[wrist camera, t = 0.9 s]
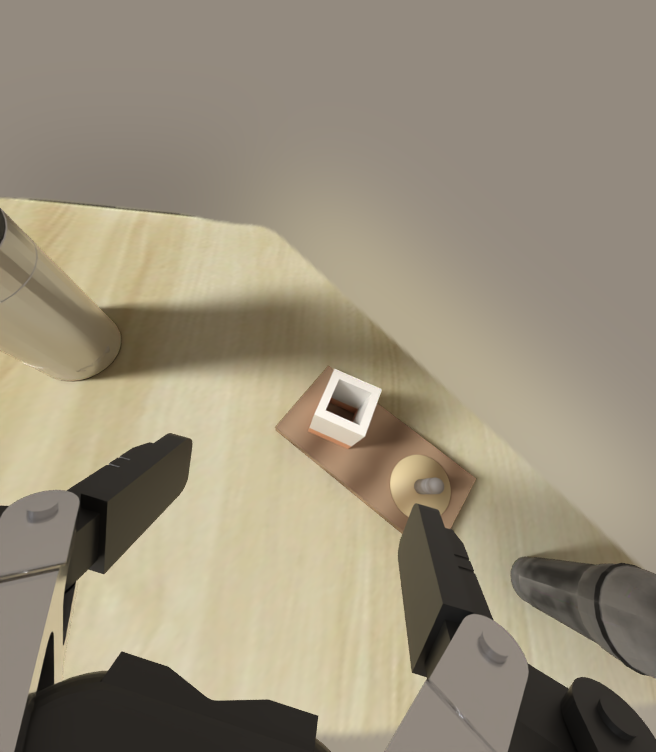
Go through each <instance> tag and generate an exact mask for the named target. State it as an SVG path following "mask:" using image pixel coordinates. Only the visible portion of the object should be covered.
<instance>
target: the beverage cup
mask: <svg viewBox="0 0 656 752" xmlns="http://www.w3.org/2000/svg"><path fill="white" fill-rule="evenodd" d="M511 581H512V585H513V588H514V589H515V591H516V593H517V594H518V595H519V596H520V597H521V598H522V599H523V600H524V601H526V602H528V603H530V604H531V605H532V606H533V607H535V608H537V609H539V610H540V611H542V612H544V613H546V614H547V615H549V616H551V617H552V618H554V619H556V620H558V621H559V622H561V623H563V624H565V625H566V626H568V627H570V628H571V629H573V630H575V631H577V632H578V633H580V634H582V635H584V636H585V637H587V638H589V639H590V640H592V641H594V642H596V643H597V644H599V645H600V646H601V647H602V648H603V649H604V650H606V651H607V652H608V653H610V654H611V655H613V656H614V657H615V658H617V659H619V660H620V661H622V662H623V663H624V664H625V665H626V666H627V667H629V668H631V669H632V670H634V671H636V672H638V673H639V674H642V675H647V676H651V677H654V678H656V574H654V573H652V572H649V571H647V570H643V569H641V568H639V567H637V566H635V565H630V564H625V563H619V564H599V565H594V564H586V563H577V562H569V561H561V560H553V559H545V558H537V557H534V558H531V557H522V558H519V559H518V560H516V561H515V563H514V564H513V566H512V570H511Z"/></svg>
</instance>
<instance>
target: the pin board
mask: <svg viewBox="0 0 656 752" xmlns="http://www.w3.org/2000/svg"><path fill="white" fill-rule="evenodd" d="M333 371H334V369H332V368H331V367H330V366H327V368H326V369H325V370H324V371H323V372H322V373H321V374H320V376H319V377H318V378H317V379H316V380H315V381H314V383H313V384H312V385H311V386H310V387H309V388H308V390H307V391H306V392H305V393H304V394H303V395H302V396H301V398H300V399H299V400H298V401H297V402H296V403H295V405H294V406H293V407H292V408H291V409H290V410H289V411H288V413H287V414H286V415H285V416H284V417H283V418H282V420H281V421H280V422H279V423H278V424H277V425H276V427H275V428H276V431H277V432H279V433H280V434H281V435H282V436H283V437H285V438H286V439H287V440H288V441H290V442H291V443H292V444H293V445H294V446H296V447H297V448H298V449H299V450H301V451H302V452H303V453H304V454H305V455H307V456H308V457H309V458H310V459H312V460H313V461H314V462H315V463H316V464H318V465H319V466H320V467H321V468H323V469H324V470H325V471H326V472H327V473H329V474H330V475H331V476H332V477H334V478H335V479H336V480H337V481H338V482H340V483H341V484H342V485H343V486H344V487H346V488H347V489H348V490H349V491H351V492H352V493H353V494H354V495H355V496H357V497H358V498H359V499H360V500H362V501H363V502H364V503H365V504H366V505H368V506H369V507H370V508H371V509H373V510H374V511H375V512H376V513H377V514H379V515H380V516H381V517H382V518H384V519H385V520H386V521H387V522H388V523H390V524H391V525H392V526H393V527H395V528H396V529H397V530H398V531H399V532H401V533H402V534H403V531H404V528H405V526H406V523H407V520H408V518H409V515H410V512H411V510H412V507H413V505H414V504H415V503H417V504H421V505H424V506H428V507H431V508H435V509H438V510H439V512H440V515H441V517H442V520H443V523H444V526H445V528H448V529H451V527H452V525H453V523H454V521H455V519H456V517H457V515H458V513H459V511H460V509H461V507H462V505H463V504H464V502H465V500H466V498H467V496H468V494H469V492H470V490H471V488H472V486H473V484H474V482H475V480H476V478H475V477H474V476H472V475H471V474H470V473H468V472H467V471H466V470H464V469H463V468H462V467H460V466H459V465H458V464H457V463H455V462H454V461H453V460H451V459H450V458H449V457H447V456H446V455H445V454H443V453H442V452H441V451H440V450H438V449H437V448H436V447H434V446H433V445H432V444H430V443H429V442H428V441H426V440H425V439H424V438H423V437H421V436H420V435H419V434H417V433H416V432H415V431H413V430H412V429H411V428H409V427H408V426H407V425H406V424H404V423H403V422H402V421H400V420H399V419H398V418H396V417H395V416H394V415H392V414H391V413H390V412H388V411H387V410H386V409H385V408H383V407H382V406H381V405H379V404H378V403H377V405H376V407H375V410H374V413H373V416H372V418H371V421H370V424H369V426H368V429H367V432H366V435H365V437H364V438H362V439H361V440H360V441H358V442H357V443H356V444H354V445H353V446H351V447H350V448H349V449H347V448H344V447H342V446H340V445H338V444H335V443H333V442H331V441H329V440H326V439H324V438H322V437H320V436H317V435H315V434H313V433H311V432H308V430H309V427H310V425H311V422H312V419H313V416H314V414H315V412H316V409H317V407H318V405H319V403H320V400H321V398H322V396H323V394H324V391H325V389H326V387H327V385H328V382H329V380H330V378H331V376H332V373H333ZM326 411H329V412H331V413H333V414H335V415H338V416H340V417H342V418H344V419H347V420H349V421H352V418H353V416H354V413H352V412H349V411H347V410H345V409H343V408H340V407H338V406H336V405H334V404H331V403H329V404H328V406H327V408H326Z"/></svg>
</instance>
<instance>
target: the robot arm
mask: <svg viewBox="0 0 656 752" xmlns="http://www.w3.org/2000/svg"><path fill="white" fill-rule="evenodd" d="M120 345H121V334H120V332H119V329H118V327H117V326H116V325H115V323H114V322H113V321H112V320H111V319H110V318H109V317H108V316H107V315H106V314H105V313H104V312H103V311H102V310H101V309H100V308H99V307H98V306H97V305H96V304H95V303H94V302H93V301H92V300H91V299H90V298H89V297H88V296H87V295H86V294H85V293H84V292H83V291H82V290H81V289H80V288H79V287H78V286H77V285H76V284H75V283H74V282H73V281H72V280H71V278H70V277H69V276H68V275H67V274H66V273H65V272H64V271H63V270H62V269H61V268H60V267H59V266H58V265H57V264H56V263H55V262H54V261H53V260H52V259H51V258H50V257H49V256H48V255H47V254H46V253H45V252H44V251H43V250H42V249H41V248H40V247H39V246H38V245H37V244H36V243H35V242H34V241H33V240H32V239H31V238H30V237H29V236H28V235H27V234H26V233H25V232H24V231H23V230H22V229H21V228H20V227H19V226H18V225H17V224H16V223H15V222H14V221H13V220H12V219H11V218H10V217H9V216H8V215H7V214H6V213H5V212H4V211H3V210H2V209H1V208H0V351H1V352H3V353H5V354H7V355H9V356H11V357H13V358H15V359H17V360H19V361H21V362H23V363H25V364H27V365H29V366H31V367H33V368H35V369H37V370H39V371H41V372H43V373H45V374H47V375H49V376H51V377H53V378H55V379H59V380H65V381H75V380H82V379H86V378H89V377H92V376H94V375H96V374H98V373H100V372H101V371H103V370H104V369H105V368H107V367H108V366H109V365H110V364H111V363H112V362H113V360H114V359H115V357H116V356H117V354H118V352H119V349H120ZM191 452H192V440H191V439H190V438H186V437H183V436H179V435H176V434H172V433H169V434H167V435H165V436H164V437H162V438H161V439H159V440H158V441H156V442H155V443H150V442H149V443H146V444H143V445H140V446H137V447H134V448H132V449H130V450H129V451H127V452H126V453H124V454H123V455H121V456H120V458H116V459H115V460H113V461H112V462H110V463H109V465H106V466H104V467H103V468H101V469H99V470H98V471H96V472H95V473H93V474H92V475H90V476H89V477H87V478H85V479H84V480H82V481H81V482H79V483H78V484H76V485H75V486H73V487H71V488H70V489H68V490H67V491H64V490H49V491H42V492H38V493H34V494H31V495H28V496H26V497H23V498H21V499H19V500H17V501H16V502H14V503H13V504H11V505H10V506H0V752H331V751H330V750H329V749H328V748H327V747H326V746H325V745H324V744H323V743H321V742H320V741H319V740H318V739H316V731H317V722H318V716H317V715H314V714H311V713H308V712H305V711H302V710H299V709H296V708H293V707H290V706H286V705H283V704H280V703H277V702H274V701H271V700H230V701H214V700H211V699H209V698H207V697H206V696H204V695H203V694H202V693H201V692H199V691H198V690H197V689H196V688H194V687H193V686H192V685H191V684H189V683H188V682H187V681H186V680H184V679H183V678H182V677H181V676H179V675H178V674H177V673H176V672H174V671H173V670H172V669H171V668H169V667H167V666H164V665H161V664H158V663H155V662H152V661H149V660H146V659H143V658H140V657H137V656H134V655H131V654H128V653H125V652H121V653H120V654H119V656H118V657H117V659H116V660H115V662H114V663H113V665H112V666H111V668H110V669H109V670H108V671H99V672H92V673H86V674H83V675H79V676H75V677H71V678H69V679H66V680H64V681H62V680H63V669H64V661H65V654H66V649H67V643H68V638H69V632H70V626H71V621H72V615H73V610H74V604H75V599H76V593H77V587H78V579H79V578H80V577H81V576H82V575H83V574H84V573H85V572H86V571H87V570H88V569H89V570H92V571H95V572H98V573H102V574H105V573H106V572H107V571H108V570H109V568H110V567H111V566H112V565H113V564H114V563H115V562H116V561H117V560H118V559H119V558H120V557H121V556H122V555H123V554H124V553H125V552H126V551H127V550H128V548H129V547H130V546H131V545H132V544H133V543H134V542H135V541H136V540H137V539H138V538H139V537H140V536H141V535H142V534H143V533H144V532H145V531H146V529H147V528H148V527H149V526H150V525H151V524H152V523H153V522H154V521H155V520H156V519H157V518H158V517H159V516H160V515H161V514H162V513H163V512H164V511H165V509H166V508H167V507H168V506H169V505H170V504H171V503H172V502H173V501H174V500H175V499H176V498H177V497H178V496H179V495H180V493H181V492H182V491H183V489H184V487H185V485H186V482H187V479H188V475H189V467H190V459H191ZM398 562H399V571H400V579H401V587H402V595H403V603H404V612H405V620H406V628H407V636H408V645H409V653H410V661H411V669H412V673H415V674H418V675H421V676H424V677H427V680H426V681H425V683H424V684H423V686H422V688H421V689H420V691H419V693H418V695H417V696H416V698H415V700H414V701H413V703H412V705H411V707H410V708H409V710H408V712H407V713H406V715H405V717H404V719H403V720H402V722H401V724H400V725H399V727H398V729H397V731H396V732H395V734H394V736H393V737H392V739H391V741H390V743H389V744H388V746H387V748H386V749H385V751H384V752H656V739H655V738H654V736H653V734H652V733H651V731H650V730H649V728H648V727H647V726H646V724H645V723H644V722H643V720H642V719H641V718H640V717H639V716H638V714H637V713H636V712H635V711H634V710H633V709H632V708H631V707H630V706H629V705H628V704H627V703H626V702H625V701H624V700H623V699H622V698H621V697H620V696H618V695H617V694H616V693H615V692H613V691H612V690H611V689H609V688H608V687H606V686H605V685H603V684H601V683H599V682H597V681H595V680H593V679H590V678H586V677H580V678H577V679H575V680H574V682H573V683H572V685H571V686H570V688H569V689H568V688H567V687H565V686H563V685H562V684H560V683H558V682H557V681H555V680H554V679H552V678H550V677H549V676H547V675H545V674H544V673H542V672H540V671H539V670H537V669H535V668H534V667H532V666H531V665H529V664H528V663H527V660H526V658H525V655H524V653H523V651H522V650H521V648H520V646H519V645H518V643H517V642H516V641H515V639H514V638H513V637H512V636H511V635H510V634H509V633H508V632H507V631H506V630H505V629H504V628H503V627H502V626H500V625H499V624H498V623H496V622H495V621H494V620H493V618H492V615H491V613H490V610H489V608H488V605H487V603H486V600H485V598H484V595H483V593H482V590H481V588H480V585H479V582H478V580H477V577H476V575H475V574H474V570H473V567H472V565H471V562H470V561H469V557H468V555H467V552H466V549H465V547H464V544H463V543H462V542H461V540H460V539H459V538H458V536H457V535H456V534H455V533H454V531H453V530H451V529H448V528H445V526H444V523H443V520H442V517H441V515H440V512H439V510H438V509H435V508H431V507H428V506H424V505H421V504H417V503H415V504H414V505H413V507H412V510H411V512H410V515H409V518H408V520H407V523H406V526H405V528H404V531H403V534H402V537H401V539H400V543H399V549H398Z"/></svg>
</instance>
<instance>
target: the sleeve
mask: <svg viewBox="0 0 656 752" xmlns="http://www.w3.org/2000/svg"><path fill="white" fill-rule="evenodd" d="M381 391H382V389H380V388H378V387H376V386H373V385H371V384H369V383H366V382H364V381H362V380H360V379H357V378H355V377H353V376H350V375H348V374H346V373H344V372H341V371H339V370H337V369H334V371H333V373H332V376H331V378H330V380H329V382H328V385H327V387H326V389H325V391H324V394H323V396H322V398H321V400H320V403H319V405H318V407H317V409H316V412H315V414H314V416H313V419H312V422H311V425H310V427H309V430H308V432H311V433H313V434H315V435H317V436H320V437H322V438H324V439H326V440H329V441H331V442H333V443H335V444H338V445H340V446H342V447H344V448H347V449H349V448H350V447H351V446H353V445H354V444H356V443H357V442H358V441H360V440H361V439H362V438H364V437H365V435H366V432H367V429H368V426H369V424H370V421H371V418H372V416H373V413H374V410H375V407H376V405H377V402H378V399H379V396H380V394H381ZM329 403H331V404H334V405H336V406H338V407H340V408H343V409H345V410H347V411H349V412H352V413H354V416H353V418H352V421H349V420H347V419H344V418H342V417H340V416H338V415H335V414H333V413H331V412H329V411H326V408H327V406H328V404H329Z"/></svg>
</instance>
